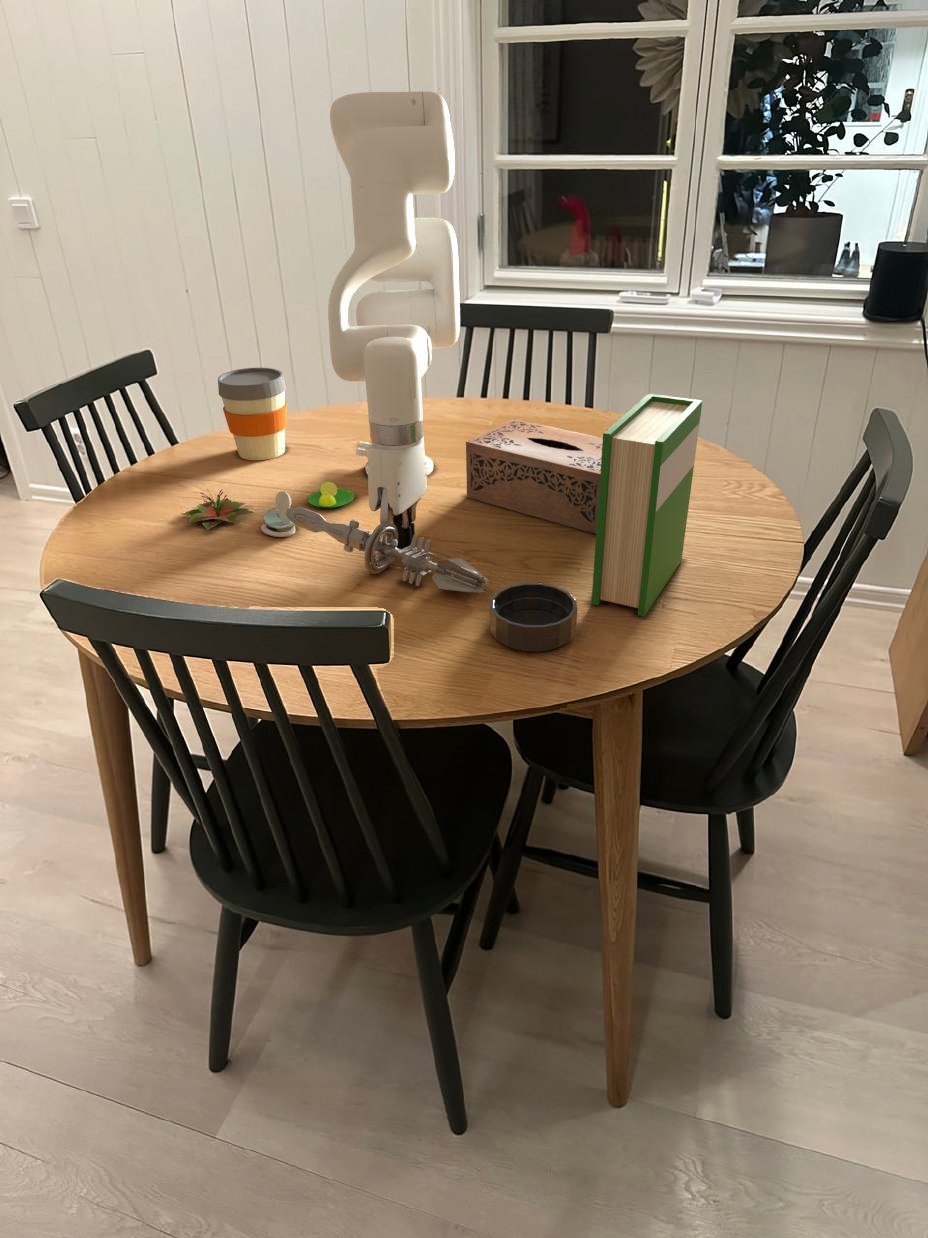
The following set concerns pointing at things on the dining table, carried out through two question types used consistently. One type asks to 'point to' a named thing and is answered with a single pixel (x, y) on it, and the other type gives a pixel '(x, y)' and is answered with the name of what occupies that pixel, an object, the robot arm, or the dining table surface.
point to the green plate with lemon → (330, 496)
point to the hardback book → (644, 499)
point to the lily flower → (216, 511)
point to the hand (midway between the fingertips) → (403, 546)
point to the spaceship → (393, 551)
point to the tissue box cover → (537, 472)
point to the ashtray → (533, 617)
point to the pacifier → (279, 523)
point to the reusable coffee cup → (255, 411)
